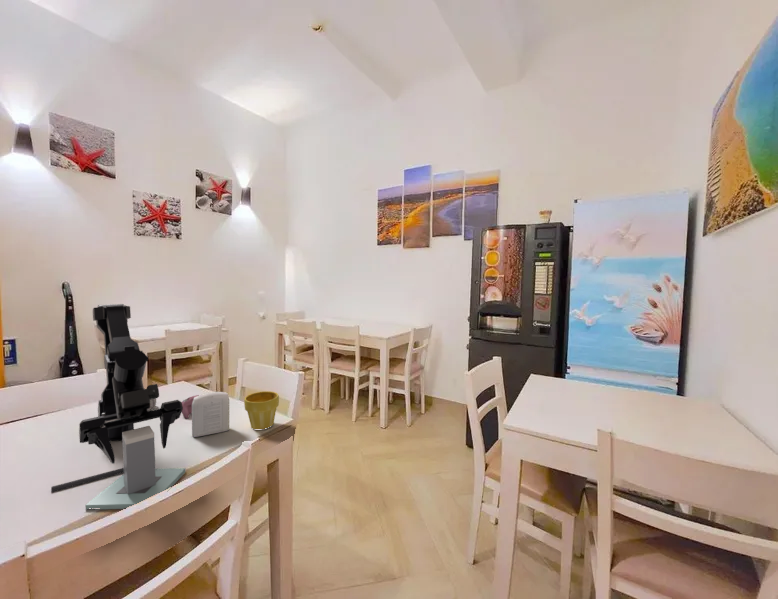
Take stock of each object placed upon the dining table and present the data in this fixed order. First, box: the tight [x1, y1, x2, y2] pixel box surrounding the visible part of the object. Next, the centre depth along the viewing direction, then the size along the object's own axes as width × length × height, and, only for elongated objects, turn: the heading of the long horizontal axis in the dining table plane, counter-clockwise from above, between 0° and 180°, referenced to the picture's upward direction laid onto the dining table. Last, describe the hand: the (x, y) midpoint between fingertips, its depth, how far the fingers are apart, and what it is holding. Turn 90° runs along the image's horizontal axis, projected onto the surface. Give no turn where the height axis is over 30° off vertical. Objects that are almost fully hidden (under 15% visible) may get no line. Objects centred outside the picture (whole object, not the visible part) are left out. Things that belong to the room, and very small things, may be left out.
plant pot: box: [243, 390, 280, 430], centre depth 109 cm, size 10×10×10 cm
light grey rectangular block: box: [121, 425, 156, 494], centre depth 76 cm, size 5×5×12 cm
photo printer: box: [191, 391, 230, 438], centre depth 104 cm, size 10×4×12 cm, turn 123°
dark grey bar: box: [50, 467, 124, 493], centre depth 80 cm, size 15×1×1 cm, turn 128°
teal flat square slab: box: [85, 467, 186, 510], centre depth 76 cm, size 13×13×1 cm
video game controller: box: [181, 394, 200, 419], centre depth 119 cm, size 10×5×7 cm, turn 145°
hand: (140, 454), depth 75 cm, fingers open, 9 cm apart
